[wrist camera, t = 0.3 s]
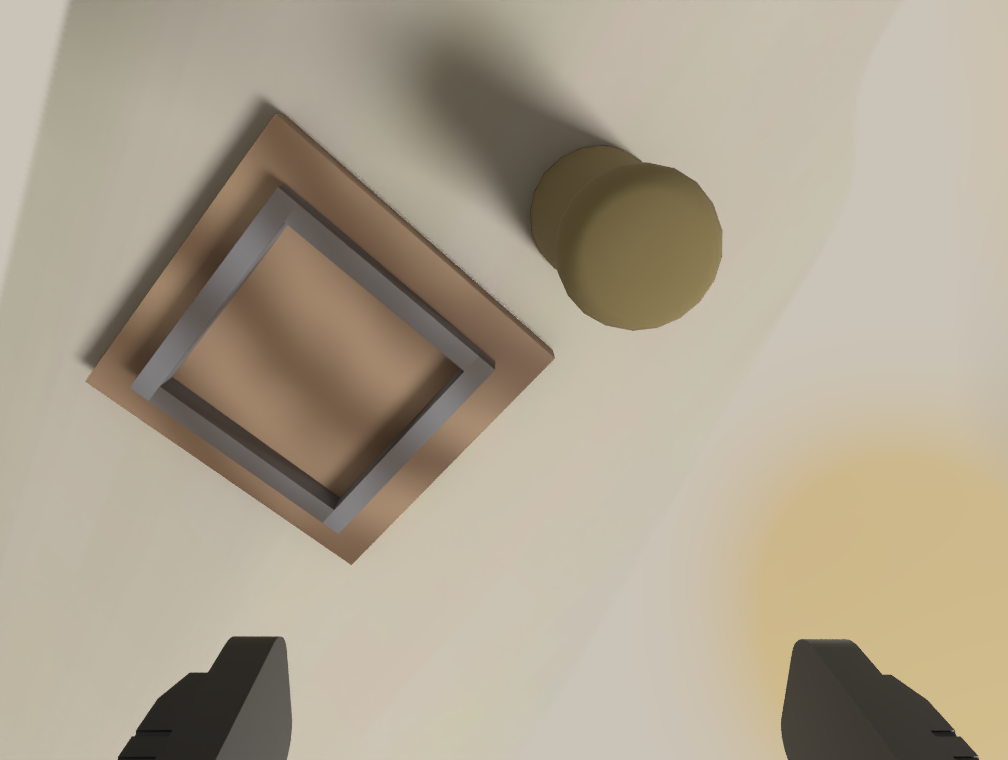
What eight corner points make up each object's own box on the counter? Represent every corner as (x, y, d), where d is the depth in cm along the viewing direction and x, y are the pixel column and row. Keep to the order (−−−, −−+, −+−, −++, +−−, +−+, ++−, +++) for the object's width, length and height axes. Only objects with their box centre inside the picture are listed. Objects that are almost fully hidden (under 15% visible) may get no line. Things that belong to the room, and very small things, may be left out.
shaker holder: (284, 114, 27) (264, 112, 25) (552, 350, 31) (556, 366, 29) (100, 372, 31) (68, 390, 29) (356, 551, 35) (346, 579, 33)
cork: (548, 295, 30) (572, 377, 20) (514, 167, 28) (521, 184, 17) (673, 261, 29) (765, 327, 19) (648, 127, 27) (736, 120, 17)
